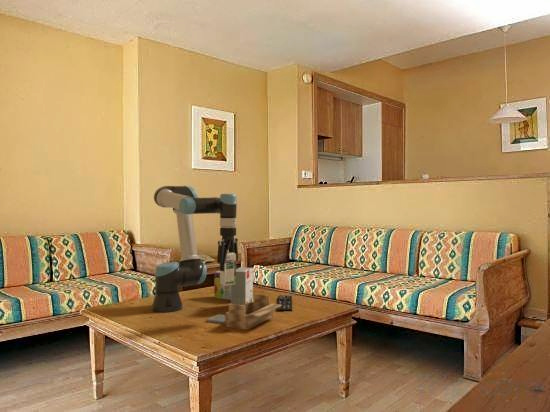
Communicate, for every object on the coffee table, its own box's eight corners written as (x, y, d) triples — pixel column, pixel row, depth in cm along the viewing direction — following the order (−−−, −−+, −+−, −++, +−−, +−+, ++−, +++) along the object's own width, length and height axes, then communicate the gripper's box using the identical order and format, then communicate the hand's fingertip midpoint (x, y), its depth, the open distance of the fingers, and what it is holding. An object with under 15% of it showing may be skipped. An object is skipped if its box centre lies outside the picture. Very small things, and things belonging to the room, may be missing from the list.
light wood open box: (225, 326, 193) (225, 303, 193) (251, 313, 214) (251, 293, 214) (258, 331, 186) (258, 307, 186) (282, 317, 207) (282, 296, 207)
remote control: (291, 298, 250) (291, 294, 250) (292, 312, 218) (292, 308, 218) (278, 298, 250) (278, 294, 250) (276, 312, 218) (276, 308, 218)
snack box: (250, 300, 244) (249, 273, 243) (244, 302, 239) (244, 274, 239) (219, 296, 255) (219, 270, 254) (213, 298, 250) (213, 271, 250)
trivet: (206, 321, 201) (206, 319, 201) (218, 316, 210) (218, 314, 210) (224, 324, 197) (224, 321, 197) (236, 318, 206) (236, 316, 206)
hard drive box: (245, 312, 218) (245, 272, 217) (230, 311, 219) (230, 271, 219) (253, 304, 233) (253, 267, 233) (239, 304, 235) (239, 266, 234)
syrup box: (224, 285, 199) (224, 254, 199) (219, 283, 204) (219, 252, 204) (236, 284, 202) (236, 253, 201) (231, 282, 207) (231, 251, 207)
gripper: (223, 229, 191) (223, 281, 192) (246, 225, 210) (245, 273, 211) (208, 228, 195) (208, 279, 195) (232, 225, 213) (232, 272, 214)
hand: (227, 276), depth 203 cm, fingers closed on syrup box, 8 cm apart
